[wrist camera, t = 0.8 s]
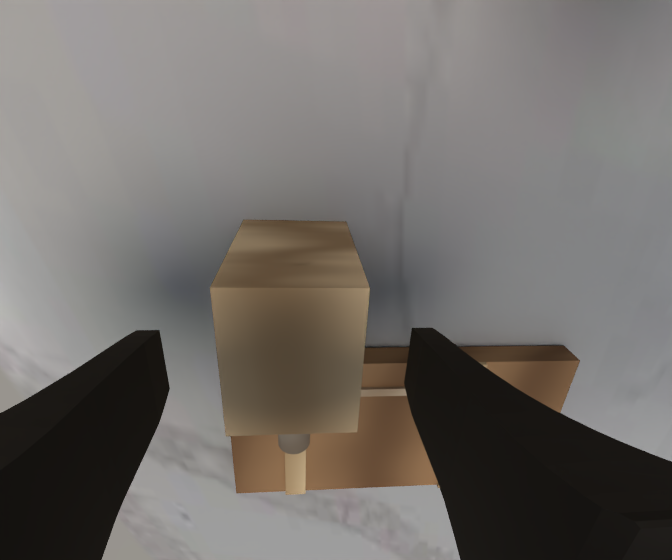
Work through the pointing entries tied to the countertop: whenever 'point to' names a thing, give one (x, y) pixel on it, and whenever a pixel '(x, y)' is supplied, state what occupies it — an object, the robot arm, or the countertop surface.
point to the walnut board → (389, 425)
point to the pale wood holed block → (290, 330)
